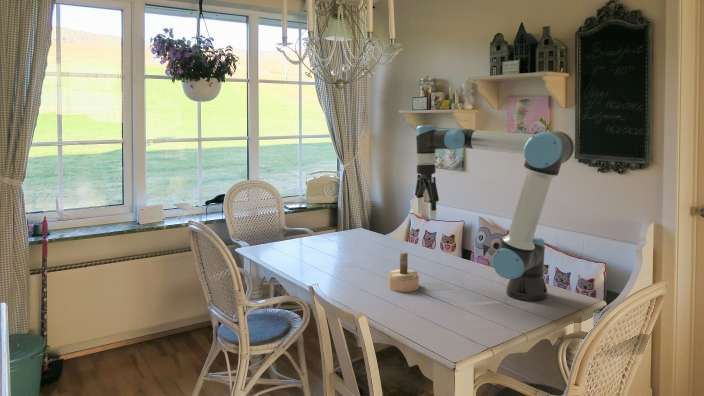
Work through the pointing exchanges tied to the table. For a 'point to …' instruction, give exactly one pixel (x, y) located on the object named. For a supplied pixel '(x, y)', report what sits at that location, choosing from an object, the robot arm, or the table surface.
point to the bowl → (403, 284)
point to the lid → (403, 270)
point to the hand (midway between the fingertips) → (426, 215)
